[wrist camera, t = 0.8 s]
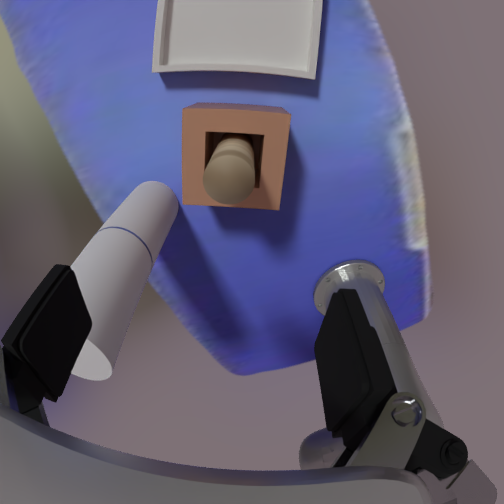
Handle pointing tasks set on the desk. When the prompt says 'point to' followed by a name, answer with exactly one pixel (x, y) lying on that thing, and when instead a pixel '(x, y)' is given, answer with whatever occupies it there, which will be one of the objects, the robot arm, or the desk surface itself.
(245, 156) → the dowel pin
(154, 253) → the cylindrical container
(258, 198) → the deep holder
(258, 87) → the desk surface
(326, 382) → the robot arm
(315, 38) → the tray
